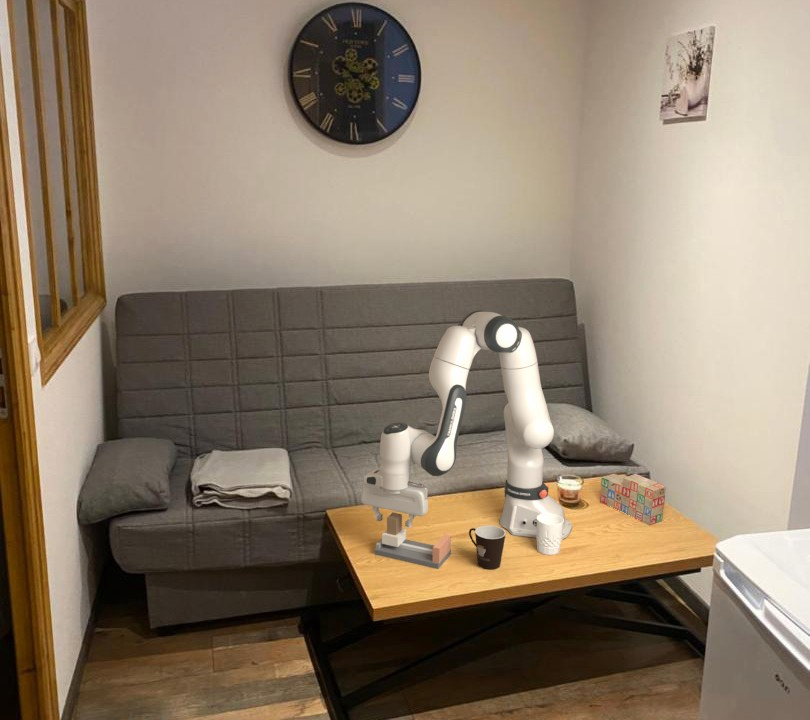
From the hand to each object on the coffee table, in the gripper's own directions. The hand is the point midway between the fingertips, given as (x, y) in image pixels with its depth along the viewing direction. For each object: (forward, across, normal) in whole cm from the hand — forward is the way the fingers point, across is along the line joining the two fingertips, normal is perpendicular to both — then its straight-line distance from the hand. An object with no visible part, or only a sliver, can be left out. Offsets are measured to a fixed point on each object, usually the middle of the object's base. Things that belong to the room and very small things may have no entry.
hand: (393, 523), depth 238 cm
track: (+8, -6, 0) cm, 10 cm away
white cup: (+8, -41, -20) cm, 47 cm away
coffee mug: (+8, -27, -5) cm, 29 cm away
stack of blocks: (+8, -59, -59) cm, 84 cm away
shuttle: (+6, 0, 0) cm, 6 cm away
